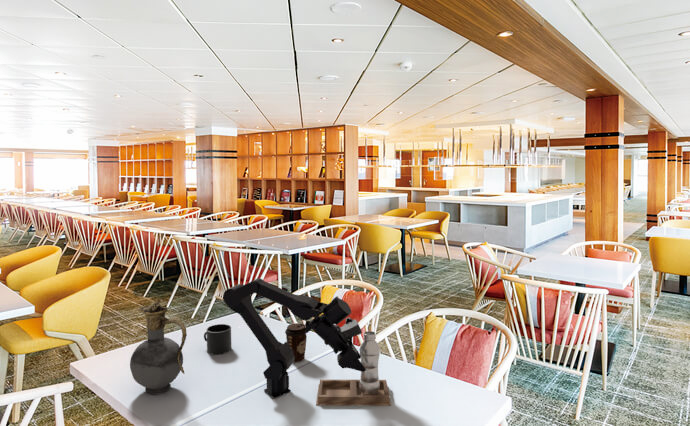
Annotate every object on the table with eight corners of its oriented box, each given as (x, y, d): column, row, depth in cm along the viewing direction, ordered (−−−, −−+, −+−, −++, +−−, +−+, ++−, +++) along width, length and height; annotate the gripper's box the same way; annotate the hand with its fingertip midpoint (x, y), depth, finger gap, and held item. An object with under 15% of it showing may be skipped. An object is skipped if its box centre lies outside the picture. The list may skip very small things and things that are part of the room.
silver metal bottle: (355, 391, 139) (355, 331, 137) (374, 386, 141) (374, 328, 140) (364, 400, 133) (364, 338, 131) (383, 395, 136) (383, 334, 134)
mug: (211, 343, 179) (210, 322, 178) (236, 347, 175) (235, 325, 174) (196, 352, 170) (196, 330, 169) (222, 356, 166) (221, 333, 165)
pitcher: (149, 378, 148) (146, 293, 145) (197, 385, 143) (194, 298, 140) (125, 394, 138) (121, 303, 135) (176, 402, 133) (173, 308, 130)
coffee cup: (310, 355, 167) (309, 322, 166) (306, 364, 159) (305, 330, 158) (288, 354, 168) (287, 322, 167) (283, 363, 160) (282, 329, 159)
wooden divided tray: (316, 405, 131) (315, 397, 131) (318, 385, 143) (318, 378, 143) (390, 405, 131) (390, 397, 131) (387, 386, 143) (387, 379, 143)
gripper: (350, 323, 124) (386, 358, 127) (342, 304, 143) (374, 335, 145) (323, 351, 124) (360, 385, 126) (319, 327, 143) (351, 358, 145)
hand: (362, 364), depth 136 cm, fingers open, 9 cm apart
